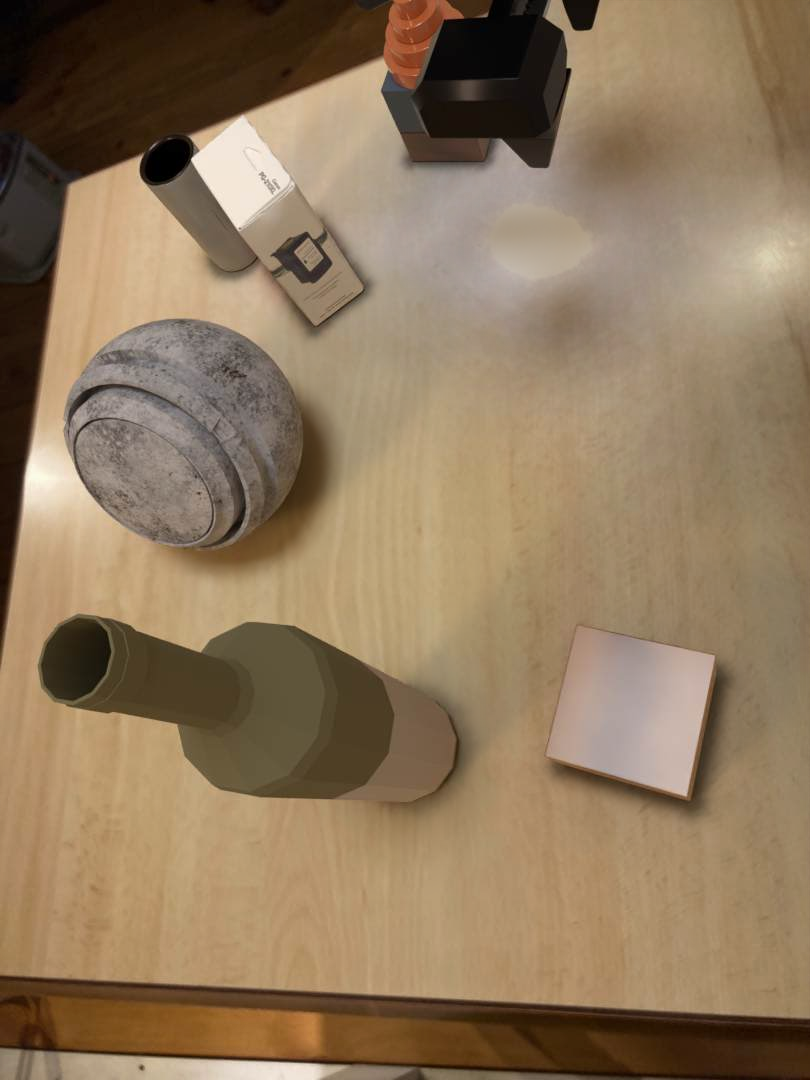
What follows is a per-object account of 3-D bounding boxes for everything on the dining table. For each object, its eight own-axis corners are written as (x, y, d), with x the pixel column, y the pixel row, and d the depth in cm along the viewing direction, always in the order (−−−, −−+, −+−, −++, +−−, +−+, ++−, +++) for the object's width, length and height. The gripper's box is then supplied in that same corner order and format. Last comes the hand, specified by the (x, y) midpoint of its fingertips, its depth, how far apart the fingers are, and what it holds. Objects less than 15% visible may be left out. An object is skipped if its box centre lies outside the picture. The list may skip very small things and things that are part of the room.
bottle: (354, 697, 53) (-13, 565, 26) (461, 681, 51) (181, 519, 24) (362, 813, 50) (-34, 798, 24) (474, 801, 49) (180, 769, 22)
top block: (495, 64, 61) (481, 16, 58) (474, 131, 60) (459, 88, 57) (421, 67, 64) (403, 22, 60) (399, 133, 62) (380, 90, 59)
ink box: (267, 261, 67) (184, 155, 56) (317, 222, 66) (242, 109, 56) (314, 329, 63) (235, 230, 53) (367, 289, 63) (298, 181, 52)
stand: (716, 674, 46) (716, 654, 41) (690, 801, 45) (687, 798, 39) (591, 645, 49) (576, 623, 44) (562, 764, 48) (543, 756, 42)
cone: (481, 17, 58) (461, -50, 53) (458, 88, 57) (436, 25, 52) (403, 23, 60) (378, -41, 56) (379, 91, 59) (351, 31, 54)
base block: (504, 96, 64) (495, 64, 61) (484, 161, 63) (474, 131, 60) (432, 98, 66) (421, 67, 64) (411, 161, 65) (399, 133, 62)
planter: (209, 242, 70) (132, 153, 61) (255, 215, 69) (185, 121, 60) (222, 281, 68) (145, 196, 59) (270, 254, 67) (199, 163, 58)
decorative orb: (135, 558, 62) (-23, 484, 49) (189, 383, 66) (55, 269, 52) (311, 584, 57) (186, 508, 43) (359, 391, 60) (258, 266, 47)
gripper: (382, -346, 37) (473, -27, 51) (241, -14, 33) (381, 233, 47) (633, -411, 33) (658, -43, 47) (503, -37, 29) (573, 244, 43)
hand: (562, 95), depth 46 cm, fingers open, 9 cm apart
